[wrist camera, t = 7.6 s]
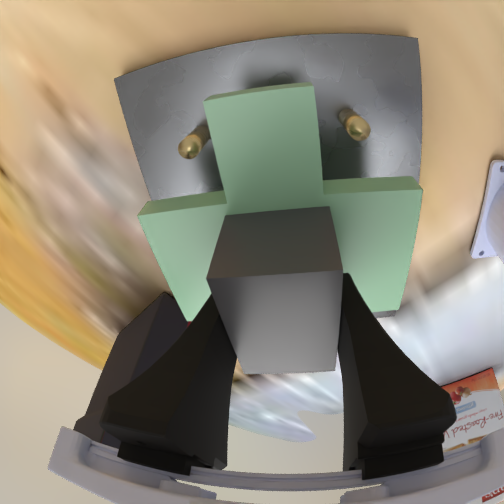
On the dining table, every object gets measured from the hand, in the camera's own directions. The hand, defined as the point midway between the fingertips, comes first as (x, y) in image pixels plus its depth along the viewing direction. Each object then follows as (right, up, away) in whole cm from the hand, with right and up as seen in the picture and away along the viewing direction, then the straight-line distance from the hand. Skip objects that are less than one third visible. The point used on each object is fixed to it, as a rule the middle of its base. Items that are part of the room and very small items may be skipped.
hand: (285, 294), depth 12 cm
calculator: (-11, -5, +15) cm, 19 cm away
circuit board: (0, +2, +2) cm, 2 cm away
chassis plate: (+1, +5, +6) cm, 7 cm away
